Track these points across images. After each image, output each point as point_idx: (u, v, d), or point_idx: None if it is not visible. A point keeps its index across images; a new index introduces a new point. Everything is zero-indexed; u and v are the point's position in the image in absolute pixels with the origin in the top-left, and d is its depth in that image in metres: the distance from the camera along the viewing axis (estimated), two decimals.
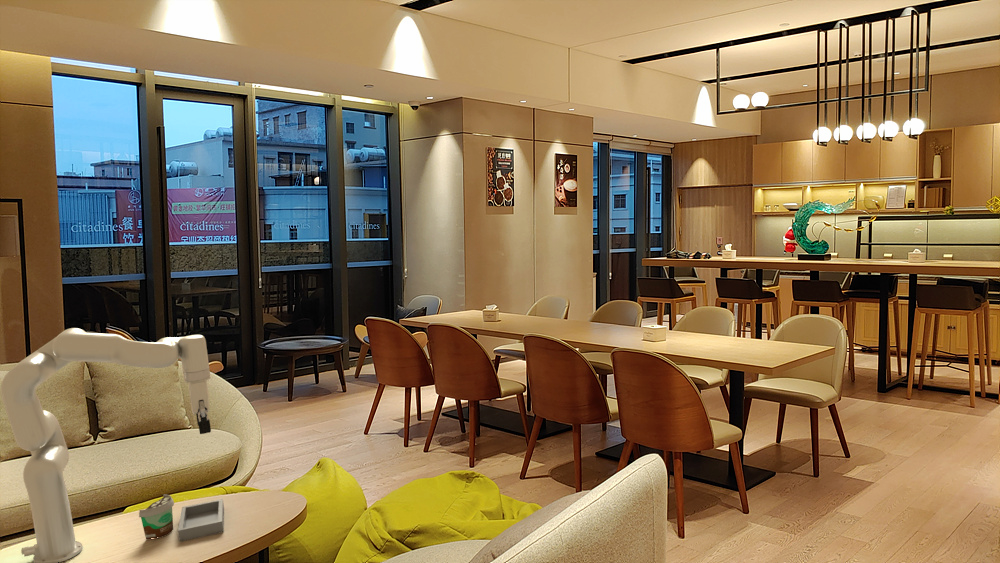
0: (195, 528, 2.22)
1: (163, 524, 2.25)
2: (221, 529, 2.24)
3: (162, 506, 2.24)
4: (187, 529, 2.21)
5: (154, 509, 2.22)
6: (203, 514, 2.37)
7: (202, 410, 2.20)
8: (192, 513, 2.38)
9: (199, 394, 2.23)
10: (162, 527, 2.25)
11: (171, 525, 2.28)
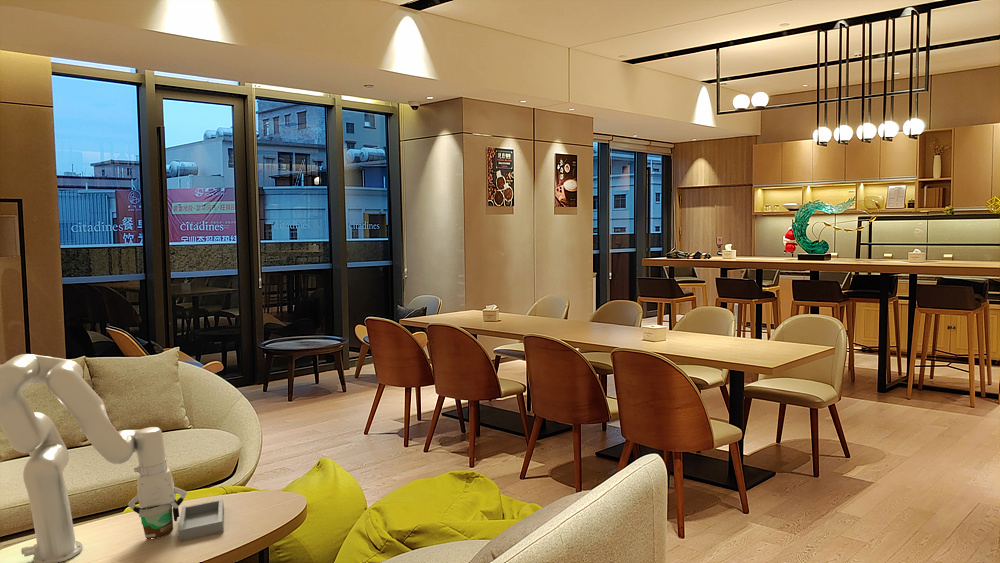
0: (195, 528, 2.22)
1: (163, 524, 2.25)
2: (221, 529, 2.24)
3: (162, 506, 2.24)
4: (187, 529, 2.21)
5: (154, 509, 2.22)
6: (203, 514, 2.37)
7: (186, 492, 2.29)
8: (192, 513, 2.38)
9: (172, 480, 2.27)
10: (162, 527, 2.25)
11: (171, 525, 2.28)
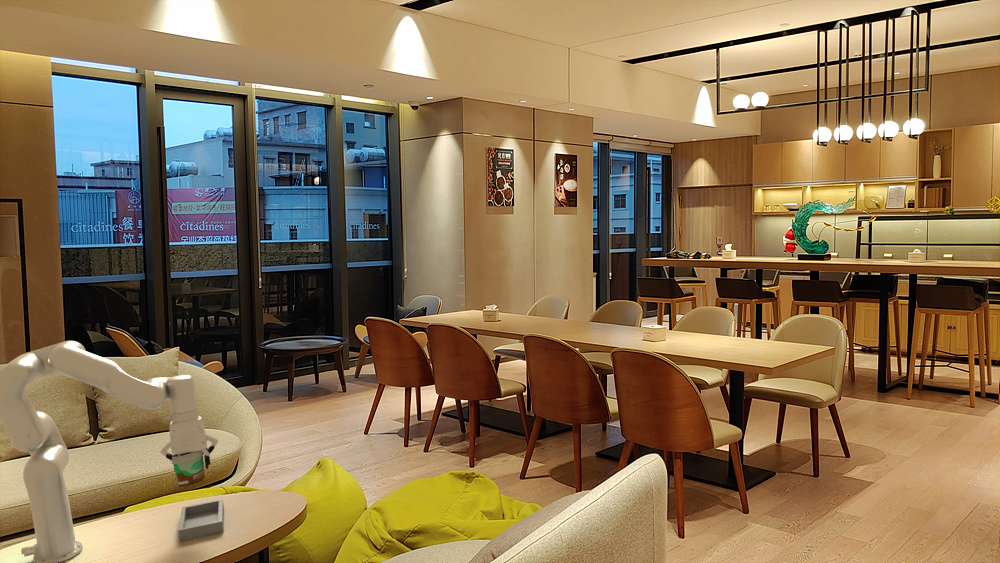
0: (195, 528, 2.22)
1: (195, 471, 2.26)
2: (221, 529, 2.24)
3: (194, 453, 2.26)
4: (187, 529, 2.21)
5: (186, 456, 2.24)
6: (203, 514, 2.37)
7: (217, 441, 2.30)
8: (192, 513, 2.38)
9: (204, 428, 2.28)
10: (194, 474, 2.26)
11: (203, 473, 2.30)
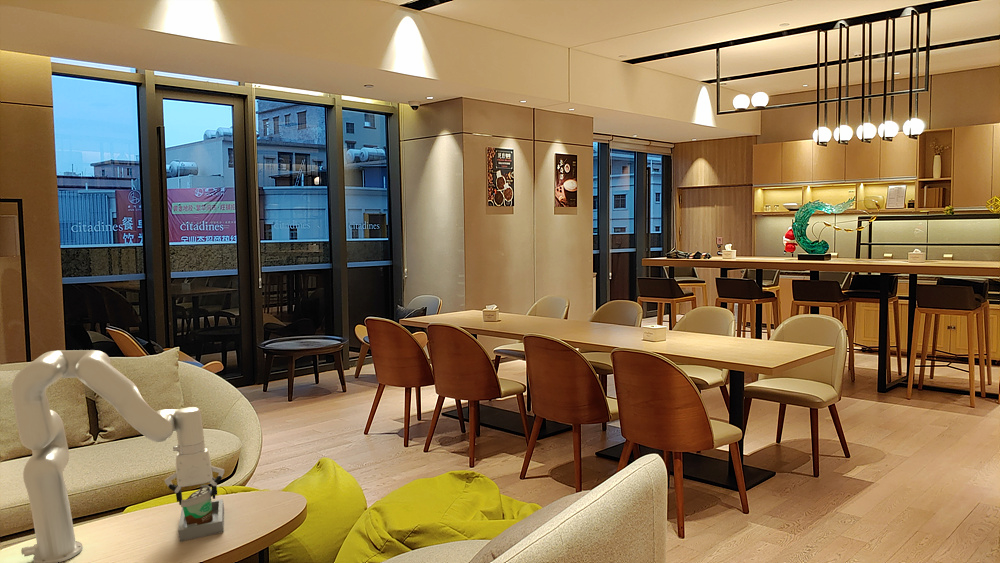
0: (195, 528, 2.22)
1: (204, 513, 2.29)
2: (221, 529, 2.24)
3: (203, 495, 2.28)
4: (187, 529, 2.21)
5: (196, 498, 2.26)
6: None
7: None
8: None
9: (210, 460, 2.30)
10: (203, 517, 2.28)
11: (211, 514, 2.32)
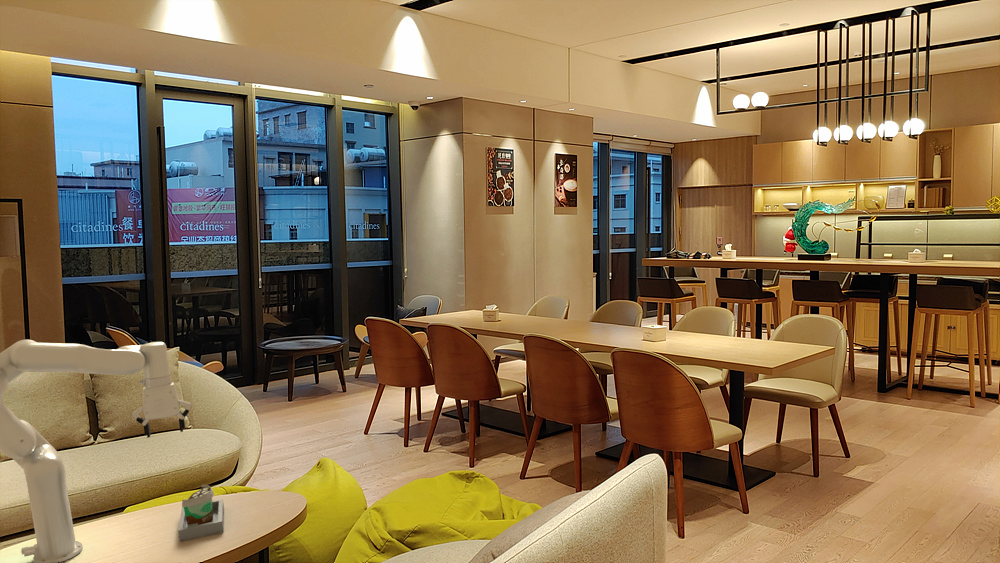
0: (195, 528, 2.22)
1: (205, 513, 2.29)
2: (221, 529, 2.24)
3: (204, 496, 2.28)
4: (187, 529, 2.21)
5: (197, 499, 2.26)
6: None
7: (191, 404, 2.36)
8: None
9: None
10: (204, 517, 2.28)
11: (211, 515, 2.32)
